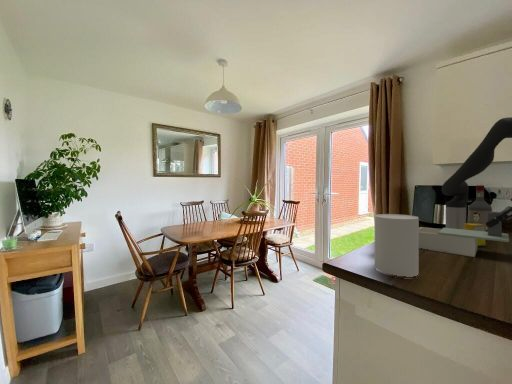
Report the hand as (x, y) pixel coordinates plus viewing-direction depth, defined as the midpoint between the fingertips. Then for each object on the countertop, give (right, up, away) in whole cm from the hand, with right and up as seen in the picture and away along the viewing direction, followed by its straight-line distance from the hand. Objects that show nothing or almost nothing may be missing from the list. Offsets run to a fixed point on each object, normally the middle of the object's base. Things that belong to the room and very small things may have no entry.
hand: (487, 225), depth 97 cm
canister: (-50, -14, -16) cm, 55 cm away
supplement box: (+9, -13, +15) cm, 22 cm away
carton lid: (-3, -5, +4) cm, 7 cm away
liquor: (+40, -11, +44) cm, 61 cm away
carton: (-10, -13, +11) cm, 20 cm away
